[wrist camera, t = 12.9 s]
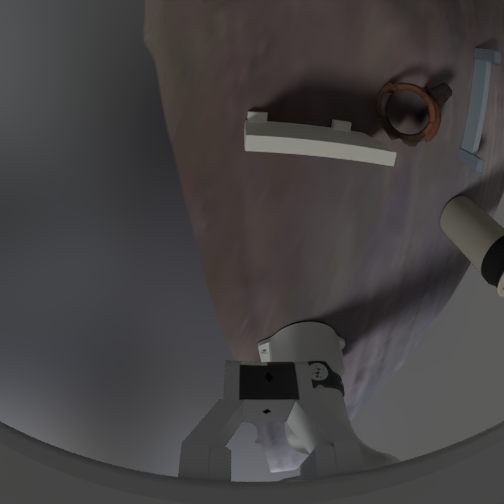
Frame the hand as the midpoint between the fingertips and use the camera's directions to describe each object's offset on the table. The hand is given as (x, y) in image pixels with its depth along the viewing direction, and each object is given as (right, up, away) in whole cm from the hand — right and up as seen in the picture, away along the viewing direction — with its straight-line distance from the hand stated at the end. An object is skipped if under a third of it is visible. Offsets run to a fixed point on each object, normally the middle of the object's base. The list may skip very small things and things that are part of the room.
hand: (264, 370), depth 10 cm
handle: (+34, +28, +21) cm, 49 cm away
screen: (+7, +20, +25) cm, 33 cm away
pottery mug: (+21, +25, +23) cm, 40 cm away
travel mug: (+36, +11, +33) cm, 50 cm away
